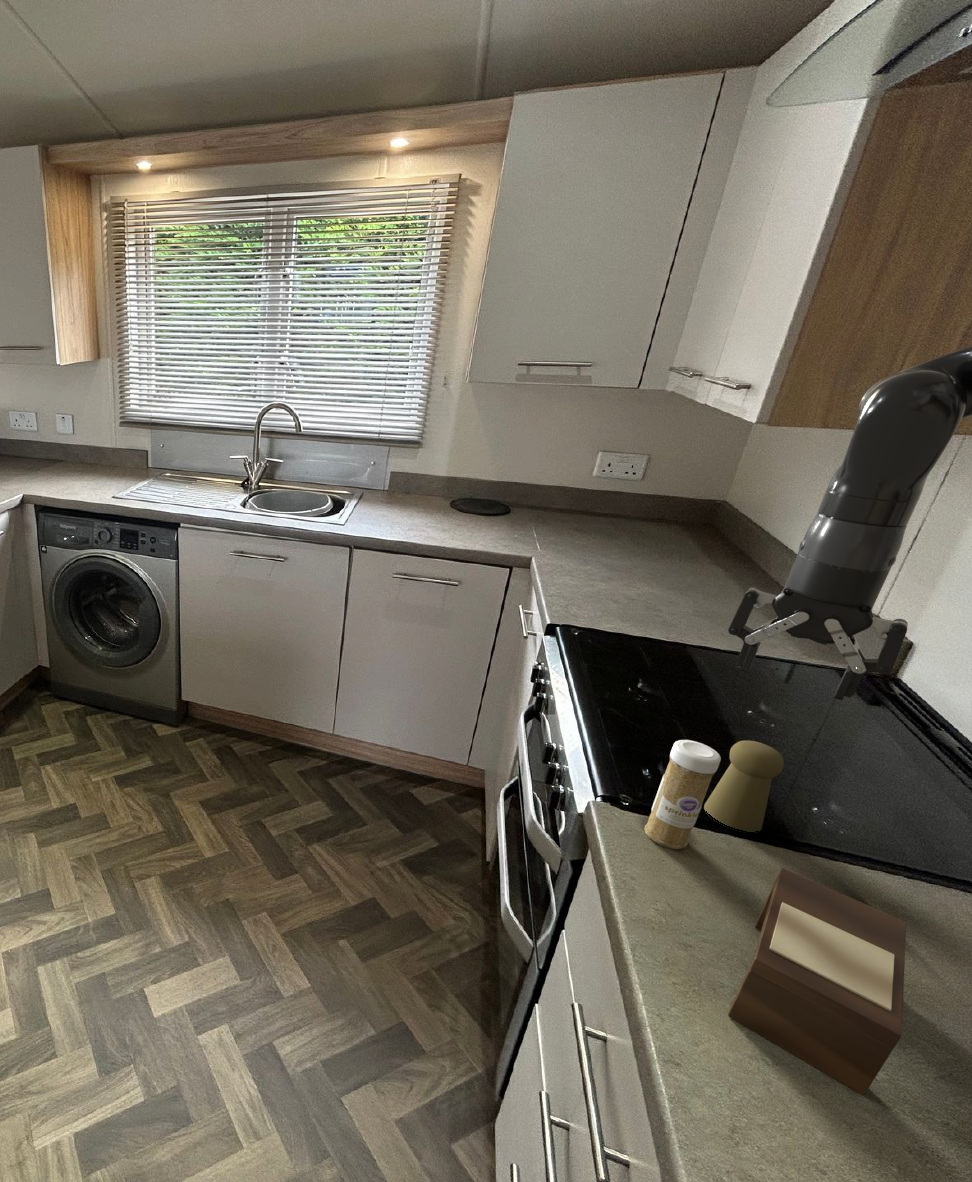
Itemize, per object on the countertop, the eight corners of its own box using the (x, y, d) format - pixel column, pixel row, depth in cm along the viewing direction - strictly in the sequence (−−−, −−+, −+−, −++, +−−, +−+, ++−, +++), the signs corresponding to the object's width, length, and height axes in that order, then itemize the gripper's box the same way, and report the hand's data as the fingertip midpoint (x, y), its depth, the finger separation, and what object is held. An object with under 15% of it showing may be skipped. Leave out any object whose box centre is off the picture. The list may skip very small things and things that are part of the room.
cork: (700, 795, 88) (726, 728, 84) (756, 811, 85) (786, 743, 81) (707, 821, 83) (735, 752, 79) (766, 839, 80) (798, 767, 76)
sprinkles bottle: (659, 850, 78) (692, 760, 73) (635, 824, 82) (665, 737, 78) (696, 851, 78) (732, 761, 73) (670, 825, 82) (702, 738, 78)
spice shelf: (756, 920, 69) (782, 865, 66) (874, 977, 63) (907, 920, 60) (727, 1016, 59) (755, 957, 56) (863, 1096, 53) (903, 1034, 50)
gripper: (938, 566, 68) (874, 696, 74) (767, 536, 78) (723, 653, 84) (938, 582, 64) (870, 719, 70) (756, 548, 73) (710, 670, 79)
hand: (789, 683), depth 77 cm, fingers open, 8 cm apart
